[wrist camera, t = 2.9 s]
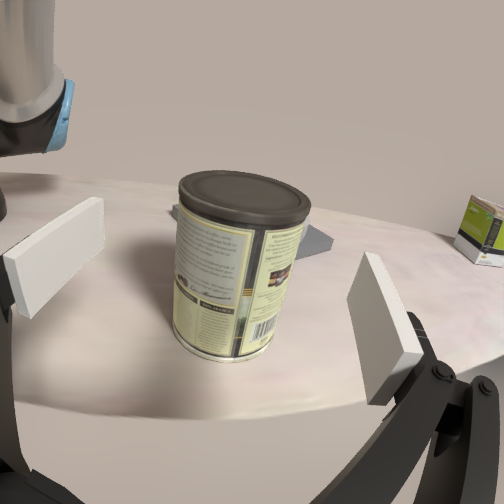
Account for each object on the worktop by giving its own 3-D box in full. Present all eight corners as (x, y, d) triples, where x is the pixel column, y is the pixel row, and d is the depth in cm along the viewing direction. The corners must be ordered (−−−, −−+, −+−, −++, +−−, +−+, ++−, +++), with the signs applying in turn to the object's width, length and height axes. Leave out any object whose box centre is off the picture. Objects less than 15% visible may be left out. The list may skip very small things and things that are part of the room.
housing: (171, 215, 50) (174, 190, 48) (258, 205, 62) (262, 184, 60) (237, 276, 38) (243, 244, 36) (330, 249, 50) (338, 225, 48)
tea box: (481, 250, 70) (499, 204, 63) (502, 268, 61) (523, 220, 54) (451, 244, 67) (471, 192, 60) (474, 265, 58) (498, 209, 51)
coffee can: (197, 283, 35) (212, 163, 29) (283, 311, 34) (317, 190, 27) (151, 337, 27) (152, 188, 20) (256, 379, 25) (301, 230, 18)
